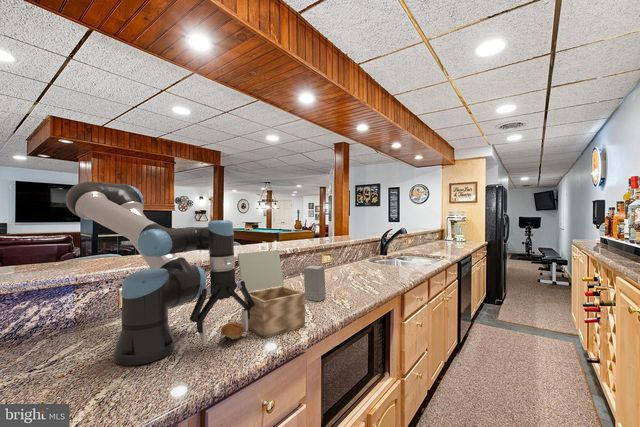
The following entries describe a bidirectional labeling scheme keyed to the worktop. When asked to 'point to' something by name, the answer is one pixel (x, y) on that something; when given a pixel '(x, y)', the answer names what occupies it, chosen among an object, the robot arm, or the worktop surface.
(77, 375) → the worktop surface
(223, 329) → the pastry
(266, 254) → the lid
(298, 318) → the box
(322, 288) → the skincare box
